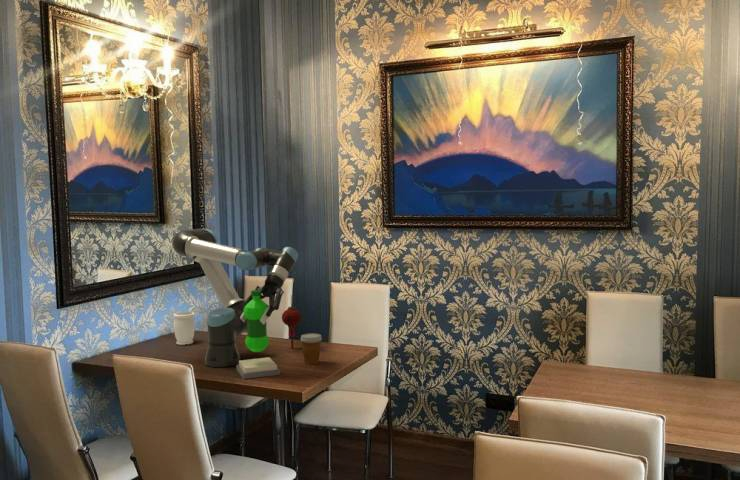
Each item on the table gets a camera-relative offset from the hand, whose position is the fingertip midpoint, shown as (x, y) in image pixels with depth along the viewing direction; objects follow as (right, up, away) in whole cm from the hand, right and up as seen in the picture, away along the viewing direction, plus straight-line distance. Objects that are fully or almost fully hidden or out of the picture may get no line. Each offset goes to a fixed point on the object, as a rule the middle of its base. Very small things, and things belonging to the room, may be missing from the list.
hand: (252, 321), depth 258 cm
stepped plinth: (+2, -22, +4) cm, 22 cm away
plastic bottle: (+1, -13, +4) cm, 13 cm away
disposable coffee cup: (+23, -21, +18) cm, 36 cm away
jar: (-44, -19, +57) cm, 75 cm away
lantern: (+11, -19, +44) cm, 49 cm away
